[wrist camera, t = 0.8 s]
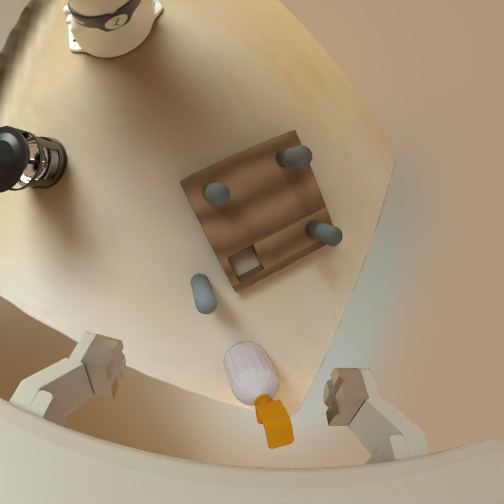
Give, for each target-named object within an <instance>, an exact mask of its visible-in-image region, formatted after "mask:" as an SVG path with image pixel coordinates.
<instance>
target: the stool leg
mask: <svg viewBox="0 0 504 504" xmlns="http://www.w3.org/2000/svg"><path fill="white" fill-rule="evenodd" d="M191 284H192V289H193V294H194V299H195V304H196V308H197V310H198V311H199V312H200V313H202V314H210V313H212V312H213V311H214V310H215V309H216V306H217V302H216V299H215V297H214V294H213V291H212V289H211V286H210V283H209V281H208V278H207V277H206V276H205V275H204V274H196V275H194V276H193V278H192V280H191Z"/></svg>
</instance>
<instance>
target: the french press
mask: <svg viewBox="0 0 504 504" xmlns="http://www.w3.org/2000/svg"><path fill="white" fill-rule="evenodd" d="M29 134H30V135H31V136H32V137H30V135H29ZM51 149H52V150H56V151H58V155H59V164H58V168H57V171H56V173H55V175H54V176H53V177H52V178H51V179H45V178H46V177H47V175H48V174H49V171H50V169H51V165H52V151H51ZM66 164H67V156H66V151H65V149H64V147H63V145H62V144H61V143H60V142H59V141H58V140H56V139H54V138H50V137H37V136H35V135H34V134H32V133H30V132H27V131H23V130H20V129H17V128H13V127H10V126H5V127H0V193H1V192H5V191H7V190H13V191H16V190H22V189H25V188H27V187H32V188H39V189H45V188H49V187H51V186H53V185H55V184H56V183H57V182H58V181H59V180H60V179H61V177H62V176H63V174H64V172H65V168H66ZM17 182H18V183H19V184H20V185H22V186H24V187H22V188H19V189H14V188H12V187H13V186H15V185H16V183H17Z"/></svg>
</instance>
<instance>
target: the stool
mask: <svg viewBox="0 0 504 504" xmlns="http://www.w3.org/2000/svg"><path fill="white" fill-rule="evenodd" d="M311 160H312V152H311V150H310V149H309V148H308V147H306V146H302V145H301V143H300V141H299V138H298V136H297V134H296V131H295V130H294V131H291V132H288V133H286V134H283V135H281V136H278V137H276V138H273V139H271V140H269V141H266V142H264V143H261V144H259V145H257V146H254V147H252V148H250V149H247V150H245V151H243V152H241V153H238V154H236V155H234V156H232V157H230V158H227V159H225V160H223V161H221V162H219V163H217V164H214V165H212V166H210V167H208V168H206V169H204V170H202V171H200V172H198V173H196V174H193V175H191V176H189V177H187V178H185V179H183V180H181V181H180V183H181V185H182V187H183V189H184V191H185V193H186V195H187V197H188V199H189V201H190V203H191V205H192V208H193V210H194V212H195V214H196V216H197V218H198V220H199V222H200V224H201V226H202V228H203V230H204V232H205V234H206V236H207V238H208V240H209V242H210V244H211V246H212V248H213V250H214V252H215V254H216V256H217V258H218V259H219V261H220V263H221V265H222V267H223V269H224V271H225V273H226V275H227V277H228V279H229V281H230V283H231V285H232V287H233V288H234V290H235V292H238V291H240V290H242V289H244V288H246V287H248V286H250V285H252V284H254V283H255V282H257V281H259V280H261V279H263V278H265V277H267V276H269V275H270V274H272V273H274V272H276V271H278V270H280V269H282V268H284V267H285V266H287V265H289V264H291V263H293V262H295V261H296V260H298V259H300V258H302V257H304V256H306V255H308V254H309V253H311V252H313V251H315V250H317V249H318V248H320V247H322V246H324V245H326V244H328V245H330V246H336V245H338V244H339V243H340V242H341V240H342V232H341V230H340V229H339V228H338V227H335V226H333V224H332V222H331V219H330V216H329V213H328V211H327V208H326V205H325V203H324V200H323V197H322V195H321V192H320V190H319V187H318V184H317V182H316V179H315V177H314V174H313V172H312V169H311V167H310V164H309V163H310V162H311ZM249 246H252V248H253V250H254V252H255V254H256V256H257V258H258V261H259V263H260V266H258V267H256V268H254V269H252V270H250V271H248V272H246V273H244V274H242V275H240V276H239V277H236V275H235V273H234V271H233V269H232V267H231V265H230V263H229V261H228V259H227V258H228V257H230V256H232V255H234V254H236V253H238V252H240V251H242V250H244V249H245V248H247V247H249Z"/></svg>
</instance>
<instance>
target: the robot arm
mask: <svg viewBox="0 0 504 504" xmlns="http://www.w3.org/2000/svg"><path fill="white" fill-rule="evenodd" d="M161 12H162V5H161V4H160V3H159V1H158V0H67V5H66V6H64V13H65V15H66V16H68V19H67V24H68V32H69V45H70V49H71V51H73V52H87V53H89V54H91V55H94V56H97V57H102V58H109V57H116V56H120V55H123V54H125V53H127V52H129V51H131V50H133V49H134V48H136V47H137V46H139V45H140V44H141V43H142V42H143V41H144V40H145V39H146V37H147V36H148V34H149V33H150V31H151V28H152V25H153V22H154V20H155V19H156V17H157V16H158V15H159V14H160V13H161ZM75 40H76V42H74V41H75ZM122 349H123V343H122V341H121V340H118V339H114V338H110V337H106V336H103V335H99V334H94V333H91V332H86V333H84V334H83V336H82V338H81V339H80V341H79V342H78V344H77V346H76V347H75V349H74V351H73V352H72V354H71V356H70V357H69V359H68V358H64V359H62V360H61V361H59V362H57V363H55V364H53V365H51V366H49V367H47V368H45V369H44V370H41V371H40V372H38V373H36V374H34V375H32V376H30V377H28V378H26V379H24V380H22V381H21V383H20V385H19V386H18V388H17V390H16V391H15V393H14V394H13V396H12V398H11V399H10V401H9V402H6V401H5V400H3V399H1V398H0V504H504V443H503V442H501V441H500V440H498V439H496V438H494V437H490V438H486V439H483V440H480V441H477V442H473V443H470V444H467V445H463V446H460V447H456V448H453V449H449V450H444V451H440V452H436V453H431V454H430V452H429V449H428V446H427V443H426V440H425V437H424V435H423V432H422V430H421V429H420V428H418V427H417V426H416V425H415V424H414V423H413V422H411V421H410V420H409V419H408V418H407V417H405V416H404V415H403V414H402V413H401V412H400V411H398V410H397V409H396V408H395V407H394V406H393V405H392V404H390V403H389V402H388V401H387V400H386V399H382V398H381V396H380V393H379V390H378V387H377V384H376V381H375V378H374V376H373V373H372V370H371V369H370V368H364V369H363V368H359V369H357V368H334V369H333V371H332V373H331V378H332V379H331V380H329V381H327V383H326V386H325V389H324V403H325V404H326V405H327V406H328V407H329V408H328V410H327V412H326V414H327V420H328V425H329V426H348V427H349V428H350V429H351V431H352V432H353V433H354V434H355V436H356V437H357V438H358V439H359V440H360V442H361V443H362V444H363V445H364V447H365V448H366V449H367V450H368V451H369V452H370V454H371V455H372V457H371V458H370V459H369V461H367V462H366V463H365V464H364V465H355V466H343V467H326V468H264V467H247V466H235V465H224V464H216V463H208V462H201V461H194V460H187V459H182V458H175V457H171V456H165V455H160V454H156V453H151V452H147V451H142V450H138V449H134V448H130V447H126V446H122V445H118V444H115V443H112V442H108V441H105V440H102V439H98V438H95V437H92V436H89V435H86V434H83V433H80V432H77V431H75V430H72V429H70V428H69V426H68V424H67V423H66V421H65V419H64V417H66V416H67V415H69V414H70V413H71V412H73V411H74V410H75V409H76V408H77V407H79V406H80V405H82V404H83V403H84V402H86V401H87V400H88V399H89V398H91V397H92V396H93V395H94V394H97V395H101V396H104V397H108V398H114V396H115V394H116V391H117V389H118V382H117V381H118V380H119V379H121V378H122V376H123V374H124V370H125V355H124V354H123V353H122Z"/></svg>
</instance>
